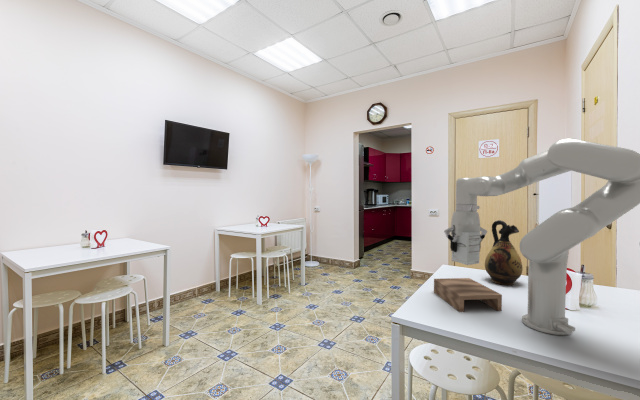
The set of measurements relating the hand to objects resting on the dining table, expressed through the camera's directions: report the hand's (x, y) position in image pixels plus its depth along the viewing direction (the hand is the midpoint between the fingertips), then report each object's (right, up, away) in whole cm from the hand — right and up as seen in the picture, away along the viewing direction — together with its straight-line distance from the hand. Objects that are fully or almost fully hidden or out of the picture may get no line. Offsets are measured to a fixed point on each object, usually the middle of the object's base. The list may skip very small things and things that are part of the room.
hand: (465, 251), depth 111 cm
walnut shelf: (0, -20, 0) cm, 20 cm away
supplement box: (0, -5, 0) cm, 5 cm away
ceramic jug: (+31, -20, +24) cm, 44 cm away
